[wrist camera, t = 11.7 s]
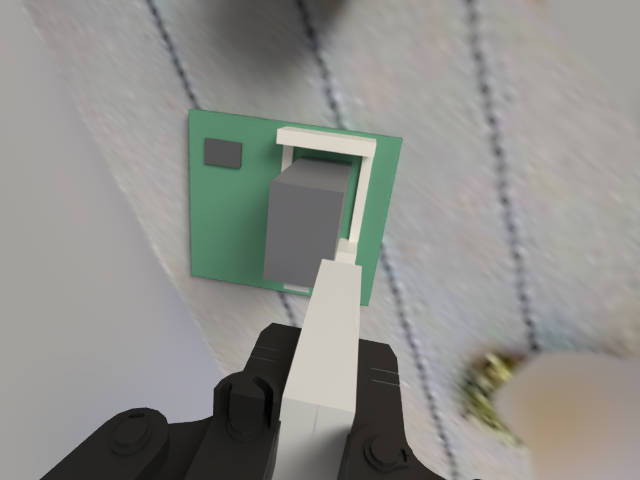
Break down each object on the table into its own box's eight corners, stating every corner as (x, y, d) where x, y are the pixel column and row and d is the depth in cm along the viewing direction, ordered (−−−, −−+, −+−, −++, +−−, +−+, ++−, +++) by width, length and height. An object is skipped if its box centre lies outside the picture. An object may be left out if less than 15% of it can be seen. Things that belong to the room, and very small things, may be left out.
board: (195, 108, 29) (168, 109, 25) (401, 137, 28) (406, 143, 24) (197, 269, 35) (175, 290, 31) (368, 299, 33) (367, 325, 30)
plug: (302, 155, 28) (270, 181, 19) (352, 162, 28) (343, 192, 19) (294, 232, 31) (262, 289, 21) (339, 240, 30) (326, 300, 21)
